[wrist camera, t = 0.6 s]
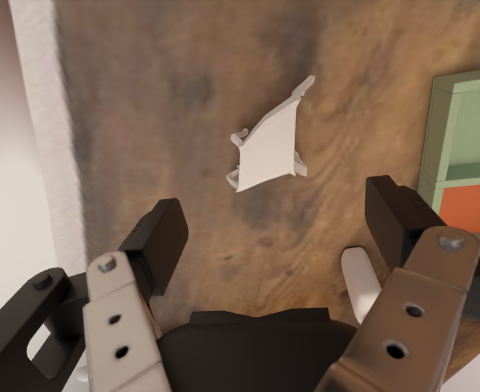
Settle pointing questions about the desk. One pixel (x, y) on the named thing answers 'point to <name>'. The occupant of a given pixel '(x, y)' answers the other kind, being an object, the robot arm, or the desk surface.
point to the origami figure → (270, 145)
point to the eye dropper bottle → (359, 281)
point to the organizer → (453, 151)
